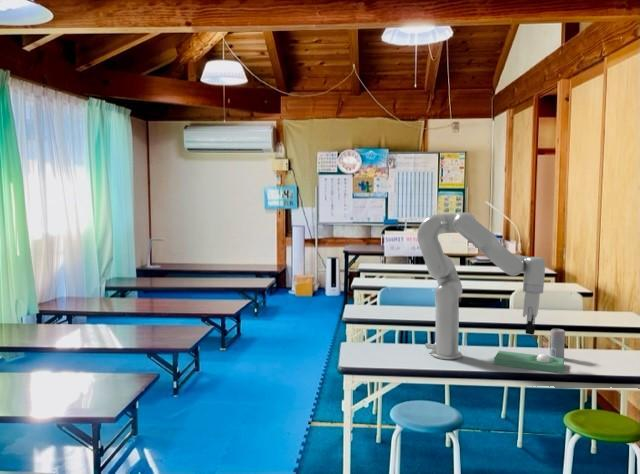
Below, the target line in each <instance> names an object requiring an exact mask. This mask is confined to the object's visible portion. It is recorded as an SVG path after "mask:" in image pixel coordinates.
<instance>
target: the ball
mask: <svg viewBox="0 0 640 474" xmlns="http://www.w3.org/2000/svg"><path fill="white" fill-rule="evenodd" d="M537 355H538V356H537V361H539V362H545V363H550V358H549V357H550V355H548V354H546V353H539V354H537Z"/></svg>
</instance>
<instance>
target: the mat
mask: <svg viewBox="0 0 640 474" xmlns="http://www.w3.org/2000/svg"><path fill="white" fill-rule="evenodd" d="M538 355H539V354H530V353H523V352H514V351H507V350H506V351H505V350H498V351H497V353H496V355H495V356H494V358H493V359H494V360H493V364H494V365H497V366H498V365H499V366H506V367H512V368H513V367H515V368H521V369H529V370H535V371H542V372H543V371H544V372H549V373H550V372H551V373H557V372H560V373H559V374H562V373H563V370H564V365H565V364H564V363H565V357H564V358H556V357H550V356H549V358H550V363H545V362H539V361H537V356H538Z"/></svg>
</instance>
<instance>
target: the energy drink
mask: <svg viewBox="0 0 640 474" xmlns="http://www.w3.org/2000/svg"><path fill="white" fill-rule="evenodd" d="M565 339H566V332H565V330H564V329H562V328H552V329H551V330H550V346H549V347H550V349H549V357H556V358H564V359H565V341H566V340H565Z"/></svg>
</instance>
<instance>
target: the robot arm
mask: <svg viewBox="0 0 640 474" xmlns="http://www.w3.org/2000/svg"><path fill="white" fill-rule="evenodd" d="M454 233H456V234H459V235H460V236H461V237H463V238H464V239H465V240H467V241H468V242H469V243H471V245H472V246H474V247H476V248H477V250H479V251H480V252H481V253H482V254H483V255H484V256H485V257H486V258H487V259H488V260H490V262H491V263H492V264H493V265H495V266H497V268H498V269H500V270H501V271H503V273H505V274H506V275H507V276H508V275H509V276H512V277H513V276H518V275H520V274H522V273H523V281H522V282H523V285H522V292H523V293H524V298H523V299H524V300H523V311H522V317H523V318H525V317H526V323H525V334H527V335H535V333H536V331H535V329H536V324H535V323H536V318H537V316H538V314H539V307H540V297H541V294H543V293H544V289H545V288H544V285H545V275H546V274H545V273H546V259H545V258H543V257H540V256H526V255H522V254H521V255H520V254H513V252H511V251H510V250H508V249H507V247H505V246H504V245H503V244H502V243H501V242H500V241H499V239H498V238H497V236H496V235H495V234H494V233H493V232H492V231H491V230H489V229H488V228H487V227H485V225H483V224H482V223H480V222H479V221H478V220H477V219H476V217H475V216H474V214H472V213H471V212H458V213H439V214H432V215H430V216H428V217H426V218H425V219H423V221H422V222H421V223H420V225H419V226H418V230H417V235H416V236H417V242H418V245H419V246H418V247H419V248H420V250H421V255H422V256H423V257H422V258H423V261H424V262H425V266H426V268H427V272H428V274H429V276H430V277H431V278H432V279H434V280H436V282H437V284H438V286H437V287H435V288H436V289H435V291H434V304H435V329H434V330H435V333H434V334H435V336H434V337H435V339H434V341H435V342H434V343H433V344H432V343H428V342H427V343H425V349H427V350H432V351H431V356H432V357H434V358H437V359H439V360H441V359H442V360H458V359H461V358H462V356H463V353H462V352H461V351H459V333H460V332H459V327H460V326H459V324H460V322H459V321H460V318H459V317H460V311H459V309H460V307H459V306H460V305H459V299H460V297H461V296H462V293H463V285H462V283H461V280H460V277H459V274H458V272H457V269H456V266H455V264H454V262H453V260H452V259H451V258H450V257H449V256H447V255H445V252H444V250H443V247H442V245H441V242H440V241H439V235H441V234H454Z"/></svg>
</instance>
